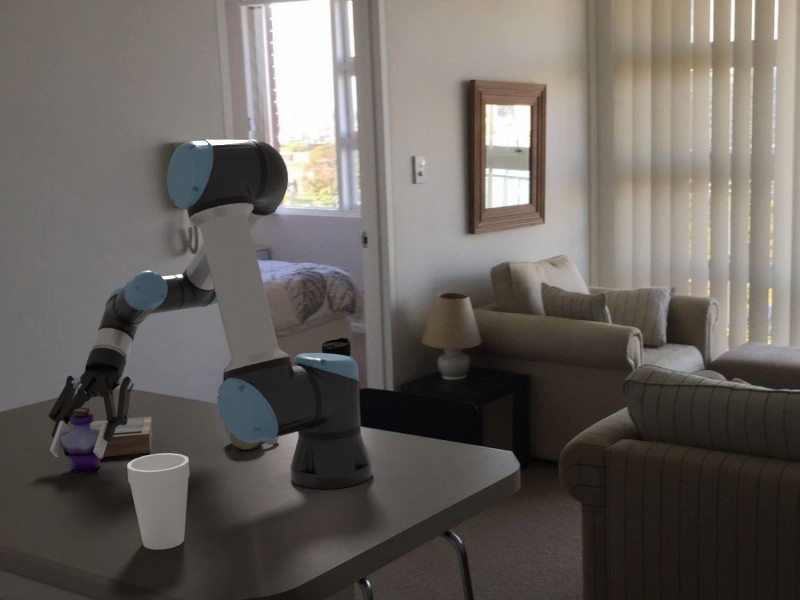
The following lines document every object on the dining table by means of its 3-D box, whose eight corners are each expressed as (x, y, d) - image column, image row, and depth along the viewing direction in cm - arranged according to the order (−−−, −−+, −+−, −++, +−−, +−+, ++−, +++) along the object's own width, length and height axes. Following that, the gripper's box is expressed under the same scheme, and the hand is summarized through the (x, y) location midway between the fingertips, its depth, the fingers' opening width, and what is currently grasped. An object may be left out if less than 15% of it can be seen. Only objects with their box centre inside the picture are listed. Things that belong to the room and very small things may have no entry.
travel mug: (360, 428, 218) (357, 338, 215) (343, 436, 212) (339, 344, 209) (337, 425, 221) (333, 336, 218) (319, 432, 216) (315, 341, 213)
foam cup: (198, 529, 162) (193, 452, 160) (188, 552, 153) (183, 470, 151) (140, 532, 162) (134, 454, 160) (126, 554, 153) (120, 473, 151)
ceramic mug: (230, 453, 203) (229, 417, 202) (224, 442, 210) (223, 407, 209) (282, 448, 206) (280, 412, 205) (274, 437, 214) (273, 402, 213)
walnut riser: (150, 452, 205) (148, 432, 204) (79, 458, 202) (77, 438, 202) (152, 434, 219) (151, 415, 218) (86, 439, 216) (84, 420, 215)
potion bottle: (62, 465, 198) (57, 406, 197) (107, 459, 201) (102, 401, 200) (63, 478, 190) (58, 417, 189) (110, 471, 193) (106, 411, 192)
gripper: (163, 366, 206) (134, 465, 193) (69, 365, 210) (34, 461, 197) (150, 345, 200) (119, 446, 187) (53, 345, 204) (17, 443, 191)
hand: (76, 454), depth 192 cm, fingers closed on potion bottle, 8 cm apart
